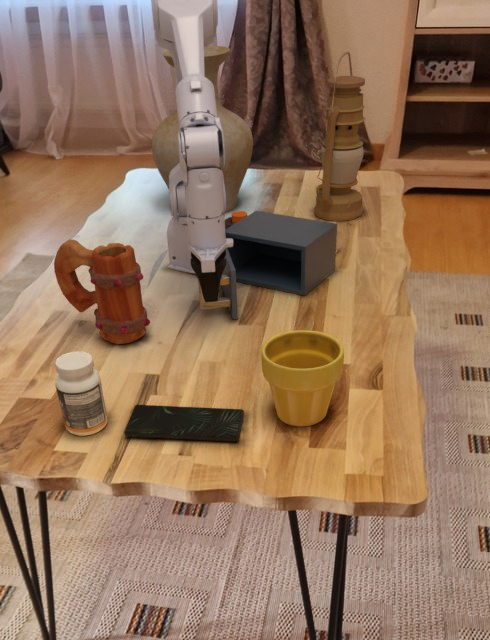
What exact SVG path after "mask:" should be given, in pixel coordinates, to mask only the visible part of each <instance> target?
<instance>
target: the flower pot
mask: <svg viewBox="0 0 490 640" xmlns="http://www.w3.org/2000/svg"><path fill="white" fill-rule="evenodd" d="M260 351H261V353H260V356H261V359H260V360H261V369H262V372H261V373H262V375H263V378H264V379H265V381H266V382H268V384H269V389H270V392H271V396H272V400H273V404H274V407H275V408H274V409H275V412H276V416H277V418H278V419H279V420H280V421H281V422H283V423H284V424H286V425H288V426H293V427H309V426H313V425H316V424H319V423H320V422H322V421H323V420H324V419H325V417H326V416H327V414H328V411H329V407H330V402H331V400H332V397H333V394H334V390H335V387H336V383H337V382H339V380H340V379H341V377H342V376H343V371H344V362H345V348H344V345H343V344H342V343H341V341H340V340H339V339H338V338H336V337H335V336H333V335H331V334H329V333H325V332H321V331H318V330H310V329H309V330H308V329H299V330H298V329H296V330H290V331H285V332H280V333H278V334H275V335H273V336H272V337H270V338H269V339H267V340H266V342H264V344H263V345H262V347H261V350H260Z"/></svg>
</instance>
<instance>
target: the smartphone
mask: <svg viewBox="0 0 490 640" xmlns="http://www.w3.org/2000/svg"><path fill="white" fill-rule="evenodd" d="M244 416H245V411H244V409H242V408H241V409H240V408H220V407H199V406H176V405H175V406H173V405H154V404H153V405H151V404H136V405H134V407H133V409H132V411H131V415H130V417H129V420H128V421H127V424H126V426H125V428H124V431H123V434H124V436H125V437H132V438H133V437H134V438H136V439H153V438H154V439H155V438H156V439H177V440H195V441H196V440H197V441H213V442H218V441H219V442H235V443H236V442H239V440H240V437H241V430H242V425H243V422H244V421H243V420H244Z"/></svg>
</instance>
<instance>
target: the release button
mask: <svg viewBox="0 0 490 640" xmlns="http://www.w3.org/2000/svg"><path fill="white" fill-rule="evenodd" d="M247 216H248V212H246V211H244V210H238V211H237V210H236V211H233V212H232V213H231V217H232V223H234V224H235V223H237V222H238V221H240V220H242V219H243V218H245V217H247Z"/></svg>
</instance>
